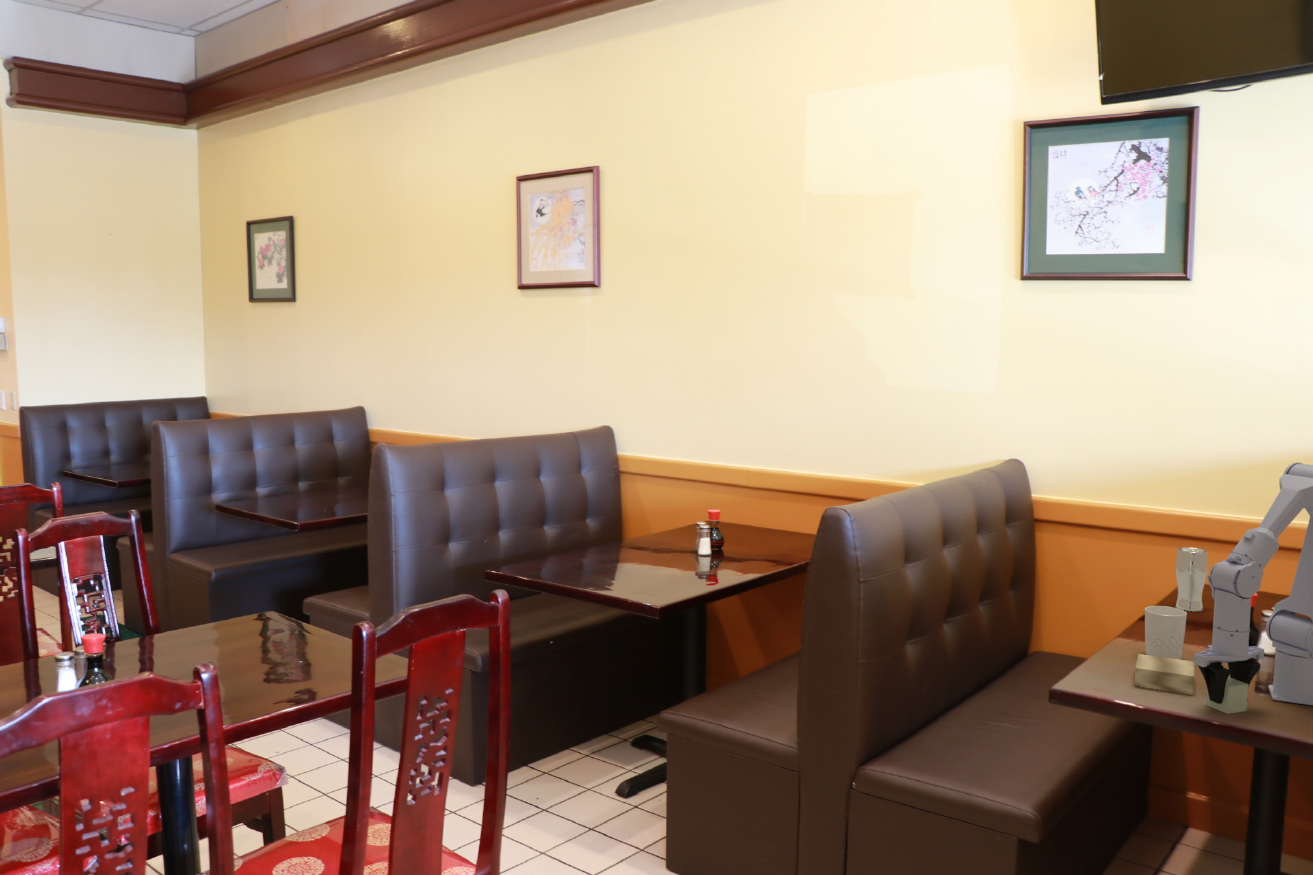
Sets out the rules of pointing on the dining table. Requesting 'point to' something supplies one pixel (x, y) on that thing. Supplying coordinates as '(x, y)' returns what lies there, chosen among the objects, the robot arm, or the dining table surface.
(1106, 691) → the dining table surface
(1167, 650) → the white cup
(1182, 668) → the bamboo box
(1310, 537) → the robot arm
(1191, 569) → the beer glass
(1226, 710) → the sage block
